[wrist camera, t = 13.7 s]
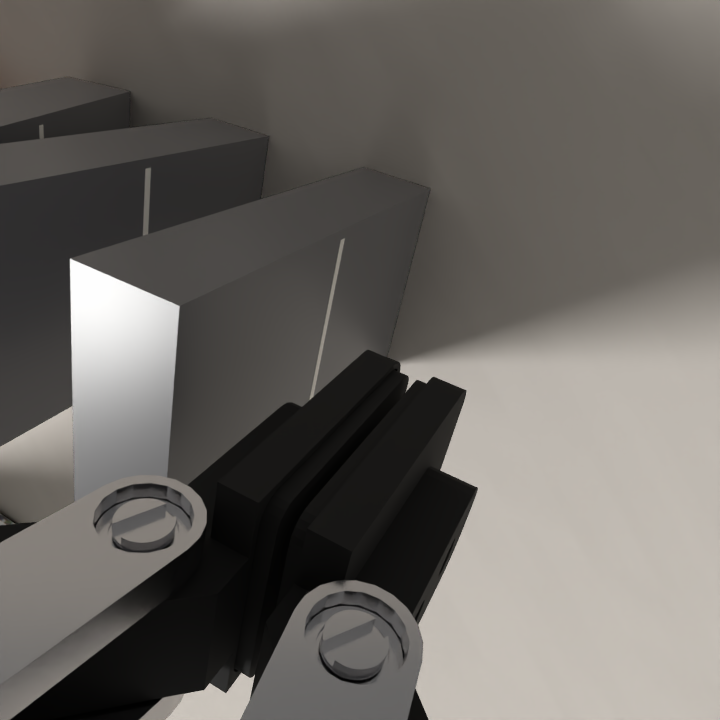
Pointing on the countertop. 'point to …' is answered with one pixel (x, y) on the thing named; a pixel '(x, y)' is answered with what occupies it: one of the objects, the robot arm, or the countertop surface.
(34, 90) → the domino
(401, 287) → the domino
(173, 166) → the domino
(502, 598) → the countertop surface
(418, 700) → the robot arm
